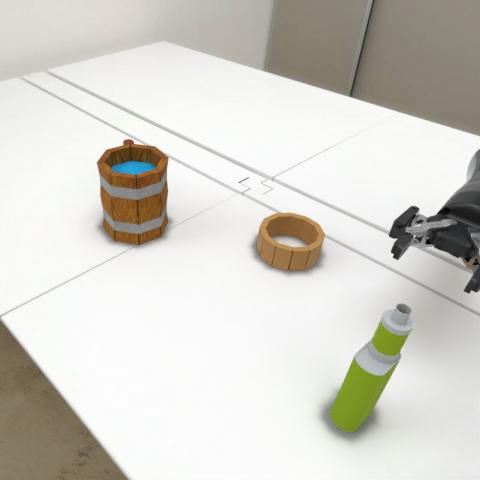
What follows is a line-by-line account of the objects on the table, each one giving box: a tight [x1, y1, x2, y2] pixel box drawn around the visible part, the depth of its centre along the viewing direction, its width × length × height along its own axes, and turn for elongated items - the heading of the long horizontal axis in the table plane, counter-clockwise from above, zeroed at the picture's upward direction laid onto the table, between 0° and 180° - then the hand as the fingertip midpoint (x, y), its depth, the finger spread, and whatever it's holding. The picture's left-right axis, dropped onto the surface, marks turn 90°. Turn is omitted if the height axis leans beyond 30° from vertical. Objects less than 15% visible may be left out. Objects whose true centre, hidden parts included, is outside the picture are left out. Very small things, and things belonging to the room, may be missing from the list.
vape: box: [329, 302, 415, 434], centre depth 55 cm, size 4×6×20 cm, turn 128°
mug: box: [96, 138, 169, 246], centre depth 92 cm, size 20×14×15 cm
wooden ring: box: [256, 212, 326, 272], centre depth 86 cm, size 12×12×5 cm
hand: (431, 270), depth 56 cm, fingers open, 8 cm apart
